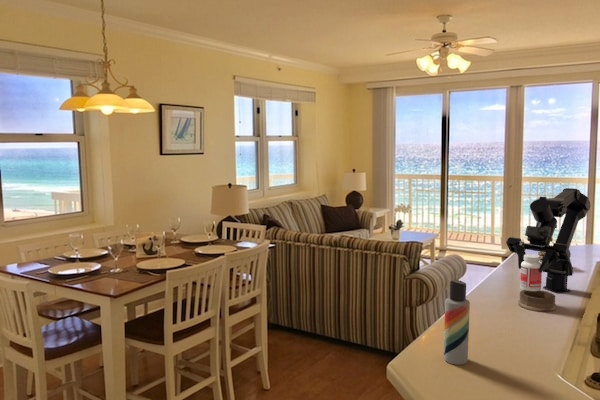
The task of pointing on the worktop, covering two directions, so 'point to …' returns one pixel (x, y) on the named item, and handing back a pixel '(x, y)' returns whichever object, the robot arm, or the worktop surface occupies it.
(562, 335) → the worktop surface
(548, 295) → the collar stand
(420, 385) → the worktop surface
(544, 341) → the worktop surface
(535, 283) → the pill bottle
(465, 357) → the lotion bottle
